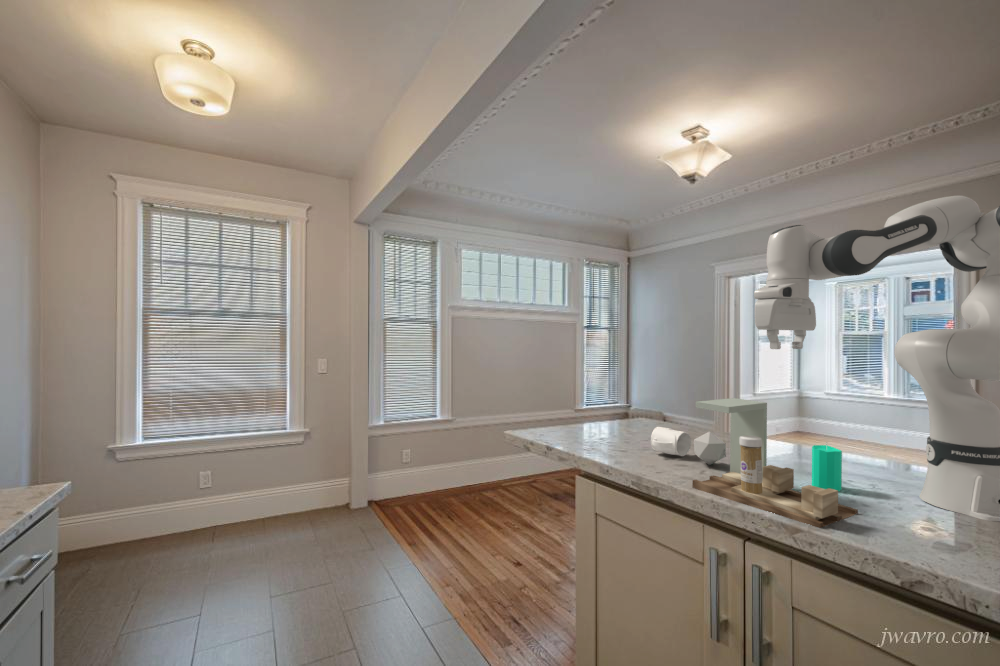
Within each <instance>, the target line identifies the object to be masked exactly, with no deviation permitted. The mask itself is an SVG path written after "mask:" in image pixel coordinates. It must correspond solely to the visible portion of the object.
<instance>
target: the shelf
mask: <svg viewBox="0 0 1000 666" xmlns="http://www.w3.org/2000/svg"><path fill="white" fill-rule="evenodd" d="M695 408H696V409H702V410H707V411H712V412H713V411H714V412H719V413H723V414H724V413H725V414H730V415H729V416H730V425H729V427H730V428H729V429H730V431H729V433H730V434H729V435H730V436H729V440H730V441H729V448H730V451H729V472H736V473H739V474H741V447H740V443H739V438H740V436H756V437H760V438H761V439H762V446H761V447H762V448H761V456H762V480H763V466H767V459H768V458H767V448H768V447H767V443H768V442H767V441H768V440H767V439H768V437H767V434H768V431H767V429H768V402H765V401H758V400H757V401H756V400H752V399H744V398H743V399H742V398H737V397H731V398H719V399H718V398H717V399H710V400H708V399H707V400H701V401H695Z"/></svg>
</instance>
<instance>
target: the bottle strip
mask: <svg viewBox="0 0 1000 666" xmlns="http://www.w3.org/2000/svg"><path fill="white" fill-rule="evenodd" d="M731 492H734V493H737V494H740V495H743V496H746V497H749V498H752V499H755V500H758V501H761V502H764V503H767V504H770V505H773V506H776V507H779V508H782V509H785V510H788V511H791V512H794V513H797V514H800V515H803V516H806V517H809V518H812V519H815V520H819V519H822V518H825V517H828V516H831V515H833V514H836V513H838V504H839V491H838V490H834V489H830V488H828V489H822V488H819V487H815V486H812V484H811V485H810V484H809V485H805V486H801V492H800V493H801V502H798V501H795V500H792V499H788V498H785V497H782V496H779V495H776V494H772V493H769V492H766V491H763V490H762V493H761V494H753V493H748V492H745V491H743V490H742V489H741V485H739V486H735V487H731Z"/></svg>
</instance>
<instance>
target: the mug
mask: <svg viewBox="0 0 1000 666" xmlns="http://www.w3.org/2000/svg"><path fill="white" fill-rule="evenodd" d="M652 430H653V431H652V432H651V436H650V445H651V448H652V449H653V450H654V451H656V452H660V453H664V454H668V455H672V456H673V455H675V456H680V457H684V456H686V455H688V453H689V452H690V450H691V448H692V443H693V442H692V436H691V435H690V433H689V432H687V431H682V430H681V431H680V430H675V429H673V428H670V427H669V428H668V427H664V426H656V427H654V429H652Z"/></svg>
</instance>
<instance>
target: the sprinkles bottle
mask: <svg viewBox="0 0 1000 666" xmlns="http://www.w3.org/2000/svg"><path fill="white" fill-rule="evenodd" d="M739 443H740V447H741V489H742V490H743V491H745V492H748V493H753V494H761V493H762V456H761V448H762V447H761V446H762V439H761V438H760V437H756V436H740V438H739Z"/></svg>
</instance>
